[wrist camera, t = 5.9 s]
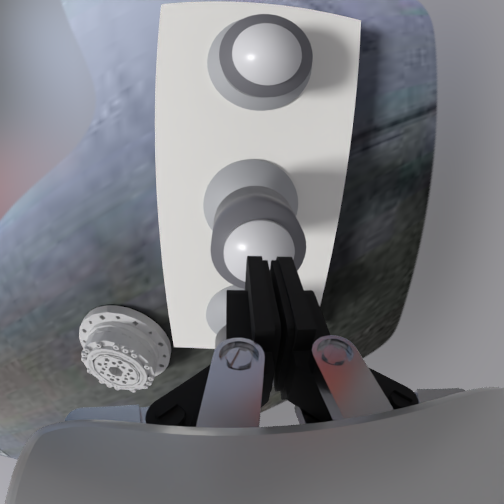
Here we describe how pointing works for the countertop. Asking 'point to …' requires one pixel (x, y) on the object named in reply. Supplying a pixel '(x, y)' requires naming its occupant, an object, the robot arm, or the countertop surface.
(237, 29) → the knob near
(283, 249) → the knob middle
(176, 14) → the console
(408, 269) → the countertop surface
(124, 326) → the mechanical component
